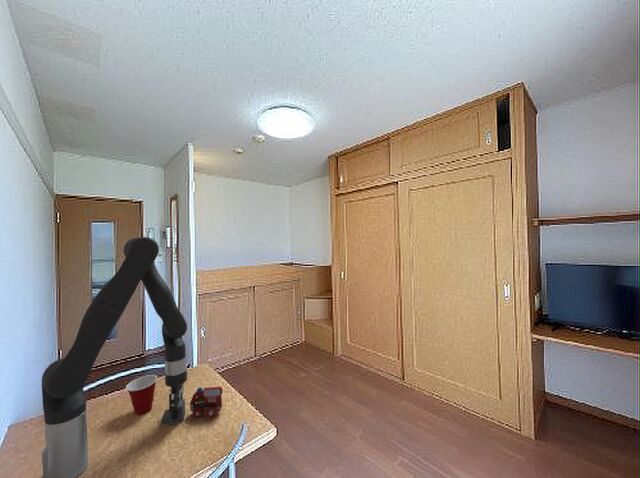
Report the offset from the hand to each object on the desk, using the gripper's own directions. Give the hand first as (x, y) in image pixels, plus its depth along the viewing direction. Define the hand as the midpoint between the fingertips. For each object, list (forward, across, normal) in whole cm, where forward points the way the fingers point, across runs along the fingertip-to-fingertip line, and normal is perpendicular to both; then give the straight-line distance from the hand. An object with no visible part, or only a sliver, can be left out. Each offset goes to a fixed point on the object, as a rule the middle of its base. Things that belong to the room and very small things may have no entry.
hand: (177, 411), depth 108 cm
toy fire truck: (+3, 0, +10) cm, 11 cm away
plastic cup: (+3, -10, -14) cm, 18 cm away
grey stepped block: (+3, 0, -1) cm, 3 cm away
